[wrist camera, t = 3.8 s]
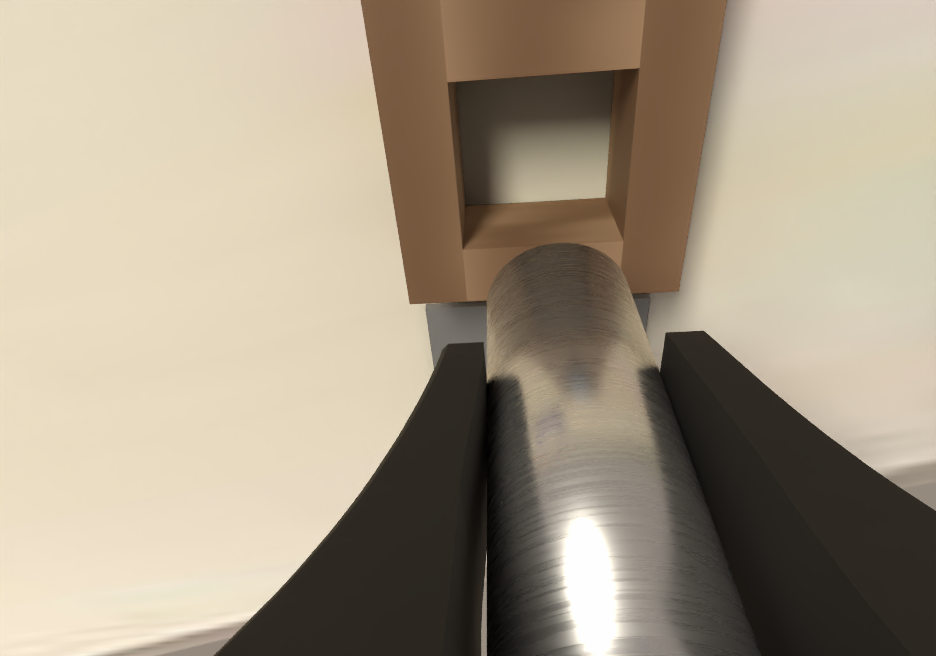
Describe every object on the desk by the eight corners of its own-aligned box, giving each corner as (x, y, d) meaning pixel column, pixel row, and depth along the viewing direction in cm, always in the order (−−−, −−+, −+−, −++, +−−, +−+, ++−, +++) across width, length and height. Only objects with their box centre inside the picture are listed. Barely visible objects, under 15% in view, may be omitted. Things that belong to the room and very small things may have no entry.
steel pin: (635, 237, 11) (833, 701, 5) (623, 355, 13) (756, 805, 7) (481, 247, 11) (474, 704, 5) (491, 361, 13) (495, 804, 7)
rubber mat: (648, 293, 20) (649, 298, 20) (628, 447, 25) (629, 452, 25) (426, 304, 21) (425, 308, 21) (447, 452, 26) (446, 457, 25)
